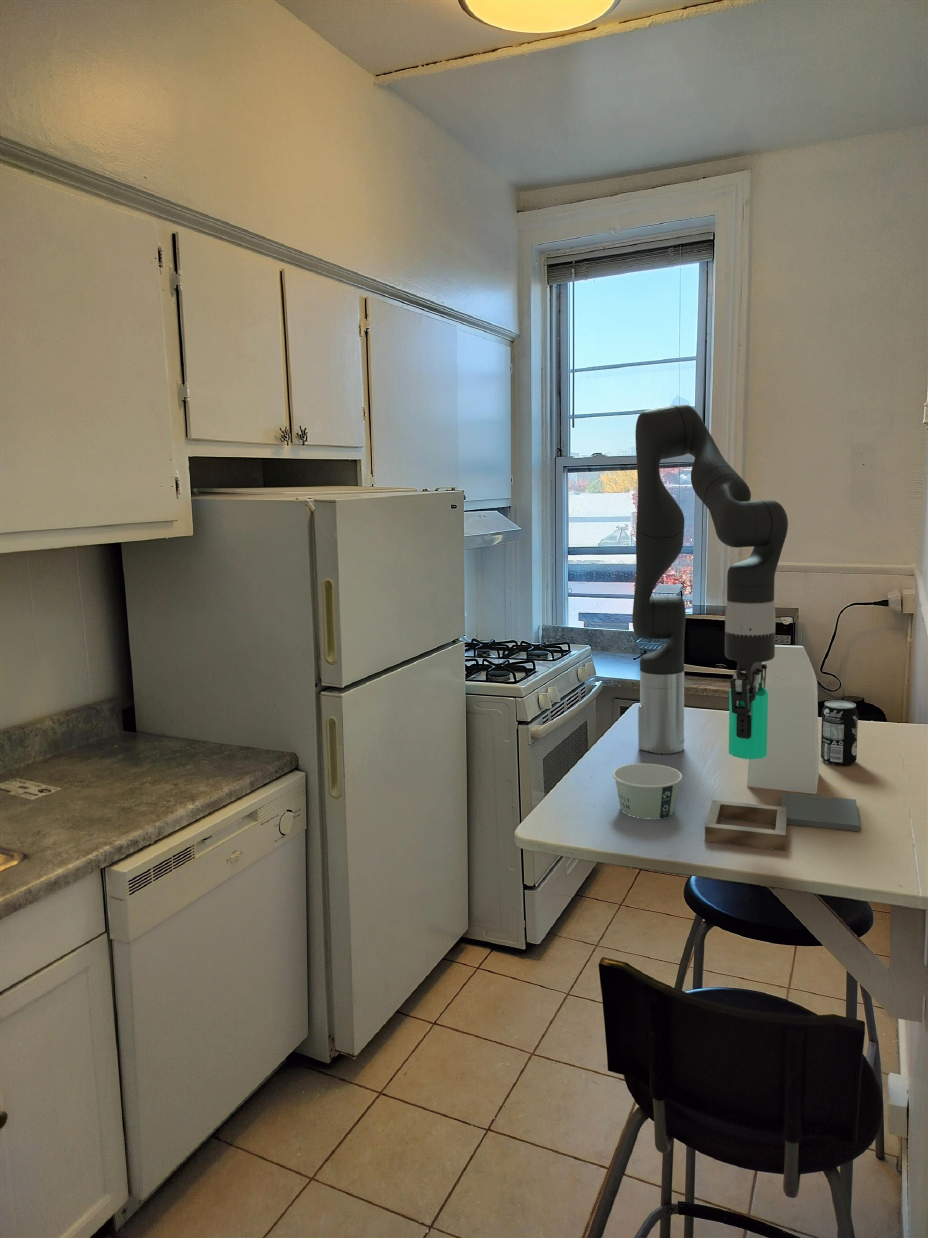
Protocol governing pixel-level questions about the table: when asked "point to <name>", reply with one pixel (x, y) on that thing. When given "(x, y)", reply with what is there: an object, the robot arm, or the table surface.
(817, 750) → the milk
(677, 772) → the food container
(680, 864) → the table surface
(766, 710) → the candle
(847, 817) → the plate
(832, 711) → the beverage can
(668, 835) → the table surface
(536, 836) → the table surface
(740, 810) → the open wooden box
